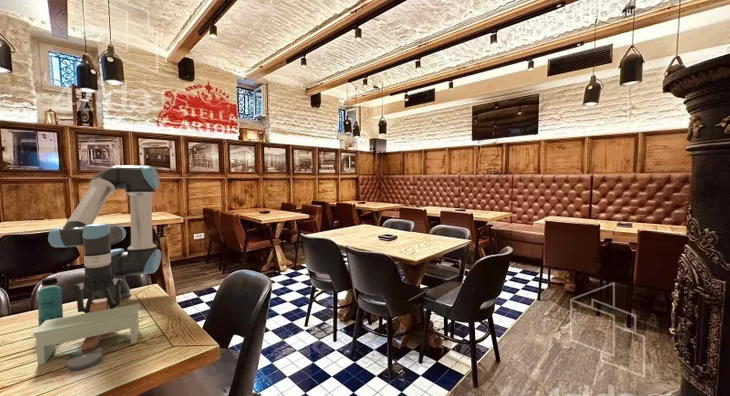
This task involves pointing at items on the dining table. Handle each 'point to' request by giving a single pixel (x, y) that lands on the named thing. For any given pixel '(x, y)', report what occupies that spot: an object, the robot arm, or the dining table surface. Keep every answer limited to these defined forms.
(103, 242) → the robot arm
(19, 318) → the dining table surface
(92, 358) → the puck
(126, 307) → the shelf
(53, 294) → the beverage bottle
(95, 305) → the paddle
